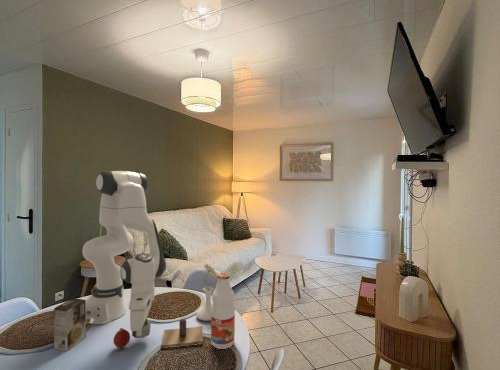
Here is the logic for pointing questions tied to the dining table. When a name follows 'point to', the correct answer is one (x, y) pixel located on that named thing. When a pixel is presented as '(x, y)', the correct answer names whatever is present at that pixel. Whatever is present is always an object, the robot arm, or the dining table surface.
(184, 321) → the post board
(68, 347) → the coffee box
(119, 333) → the onion
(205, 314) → the flower in vase
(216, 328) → the fruit juice
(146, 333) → the steel collar
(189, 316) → the dining table surface
